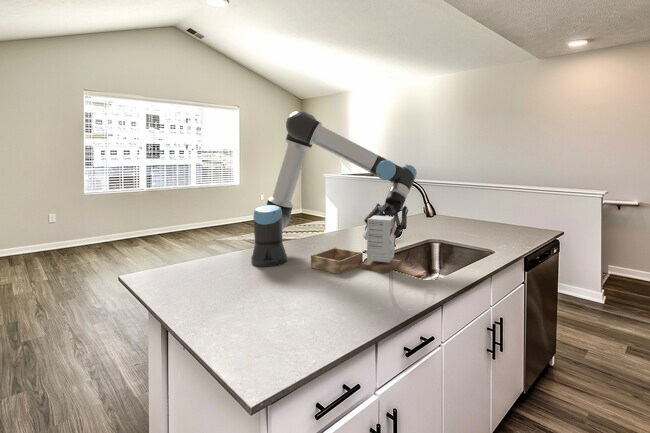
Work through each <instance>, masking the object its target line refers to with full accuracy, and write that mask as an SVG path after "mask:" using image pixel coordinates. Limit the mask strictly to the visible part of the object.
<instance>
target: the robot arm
mask: <svg viewBox="0 0 650 433" xmlns="http://www.w3.org/2000/svg"><path fill="white" fill-rule="evenodd" d="M285 127H286V132H287V135H286V138H285V142H286V143H287V146H286V150H285V154H284V157H283V160H282V163H281V166H280V171H279V173H278V176H277V179H276V183H275V187H274V190H273V194H272V196H270V197H269V198H267V202H266V205H265V204H264V205H262V206H258V207H256V208H255V209H254V210H253V215H252V218H253V228H254V229H253V230H254V231H253V233H254V234H253V235H254V247H253V250H252V254H251V257H250V258H251V264H252V265H253V266H257V267H276V266H281V265H284V264H286V263H287V262H288V254H287V253H286V249H285V246H284V244H283V243H284V241H283V240H284V239H283V230H284V229H285V228H286V227H287V226H288V225H289V224H290V222H291V218H292V211H293V207H294V204H292V200H293V196H294V193H295V190H296V187H297V183H298V180H299V177H300V173H301V170H302V167H303V165H304V164H303V163H304V160H305V157H306V154H307V151H308V150H310V149H312V147H313V145H316V146H318V147H320V148H322V149H323V150H325V151H328V152H329V153H331V154H334V155H336V156H337V157H340V158H341V159H343V160H345V161H347V162H349V163H351V164H353V165H355V166H357V167H359V168H360V169H363V170H364V171H367V172H368V173H370V174H372V175H374V176H375V177H377V178H379V179H381V180H383V181H389V182H391V183H392V186H391V187H390V189H389V192H388V194H387V196H386V198H385V201H384V203H383V204H380V203H376V205H375V207H374V208H373V209H372V210H371V212H370V213H369V214H368V215H366V217H365V218H364V220H363V221H364V223H365V228H364V232H363V235H362V237H363V238H364V240H366V241H367V223H368V219H369V218H371V217H372V216H392V217H395V226H394V228H393V231H392V233H391V235H390V238H389V242H390V243H391V244H393V242H394V239H395V240H396V237H398V236H399V235H400V232H401V230H406V229H407V224H408V223H407V219H408V216H407V215H408V212H409V208H408V207H407V206H406V205H404V204H405V203H406V199H407V198H408V195H409V193H410V190H411V188H412V187H413V185H414V182H415V180H416V177H417V174H418V172H417V169H416V168H415V167H414V166H413V165H411V164H407V163H406V164H403V165H401V166H400V165H397V164H396V163H394V162H393V161H391V160H388V159H387V158H385V157H383V156H380V155H379V154H377V153H375V152H373V151H372V150H369V149H367V148H365V147H363V146H361V145H359V144H357V143H355V142H353V141H352V140H350V139H348V138H346V137H344V136H342V135H340V134H338V133H336V132H335V131H332V130H330V129H328V128H326V126H323V123H322V122H321V121H318V120H317V119H316V118H315V117H314V116H313V114H310V113H309V112H306V111H305V110H296V111H293V112H292V113H291V114H290V115H289V116H288V117H287V118H286V122H285ZM400 212H401V220H400V218H399V213H400ZM400 221H401V222H400Z"/></svg>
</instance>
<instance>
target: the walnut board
mask: <svg viewBox="0 0 650 433" xmlns="http://www.w3.org/2000/svg"><path fill="white" fill-rule="evenodd" d="M402 262H403V261H402V259H401V260H399V259H395V258H393V259H392V260H391V261H390V262H389V263H388V262H379V261H371V260H367V259H366V260H363V262H361V263H359V266H358V268H359V269H362V270H368V271H372V272H378V273H381V274H388V273H390V272H392V271H394V270H396V269H397V268H399V267H401V266H403V265H402Z"/></svg>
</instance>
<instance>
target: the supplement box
mask: <svg viewBox="0 0 650 433" xmlns="http://www.w3.org/2000/svg"><path fill="white" fill-rule="evenodd" d="M366 225H367V240H366V241H367V242H366V260H371V261H379V262H388V263H389V262H390V261H391V260H392V259H394V257H395V240H396V238H395V239H394V242H393V244H391V243H390V242H389V238H390V235H391V233H392V231H393V228H394V226H396V221H395V217H394V216H390V215H389V216H387V215H386V216H372V217H371V218H369V219H368V223H367V224H366Z"/></svg>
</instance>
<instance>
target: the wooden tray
mask: <svg viewBox="0 0 650 433" xmlns="http://www.w3.org/2000/svg"><path fill="white" fill-rule="evenodd" d="M363 255H364V254H363V252H361V251H354V250H349V249H345V248H340V247H333V248H331V249H330V248H329V249H327V250H324V251H321V252H318V253H315V254H312V255H310V268H313V269H317V270H320V271H324V272H329V273H332V274H338V275H342V274H344V273H347V272H349V271H351V270H353V269H356V268H359V263H361V262H363V261H364V260H363V258H364V256H363Z"/></svg>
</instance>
